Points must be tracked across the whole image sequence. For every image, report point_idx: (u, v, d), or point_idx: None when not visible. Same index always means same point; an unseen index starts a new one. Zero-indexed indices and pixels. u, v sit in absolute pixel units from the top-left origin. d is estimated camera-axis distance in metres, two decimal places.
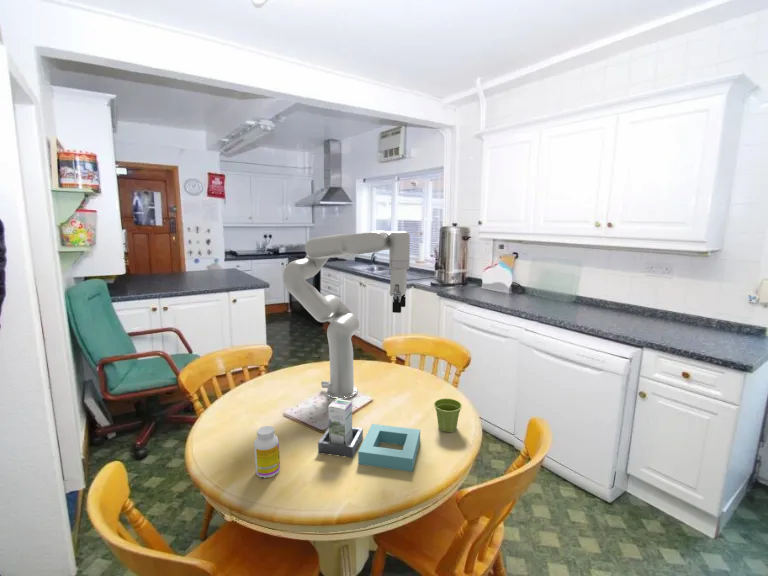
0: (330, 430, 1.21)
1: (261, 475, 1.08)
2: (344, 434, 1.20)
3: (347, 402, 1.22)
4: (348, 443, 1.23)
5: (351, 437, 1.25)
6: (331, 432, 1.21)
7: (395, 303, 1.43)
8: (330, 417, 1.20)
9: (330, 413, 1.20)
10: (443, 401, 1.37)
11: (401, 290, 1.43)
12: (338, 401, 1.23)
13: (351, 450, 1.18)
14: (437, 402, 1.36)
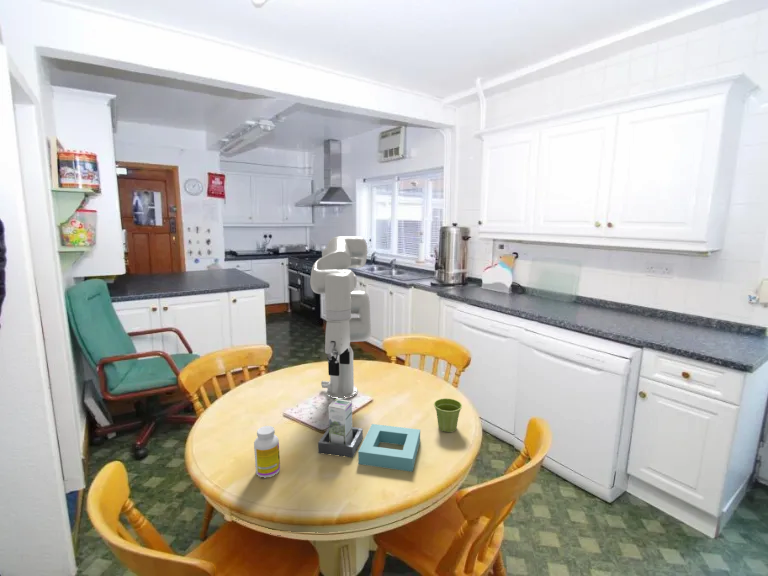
0: (330, 430, 1.21)
1: (261, 475, 1.08)
2: (344, 434, 1.20)
3: (347, 402, 1.22)
4: (348, 443, 1.23)
5: (351, 437, 1.25)
6: (331, 432, 1.21)
7: (331, 364, 1.13)
8: (330, 417, 1.20)
9: (330, 413, 1.20)
10: (443, 401, 1.37)
11: (338, 348, 1.13)
12: (338, 401, 1.23)
13: (351, 450, 1.18)
14: (437, 402, 1.36)
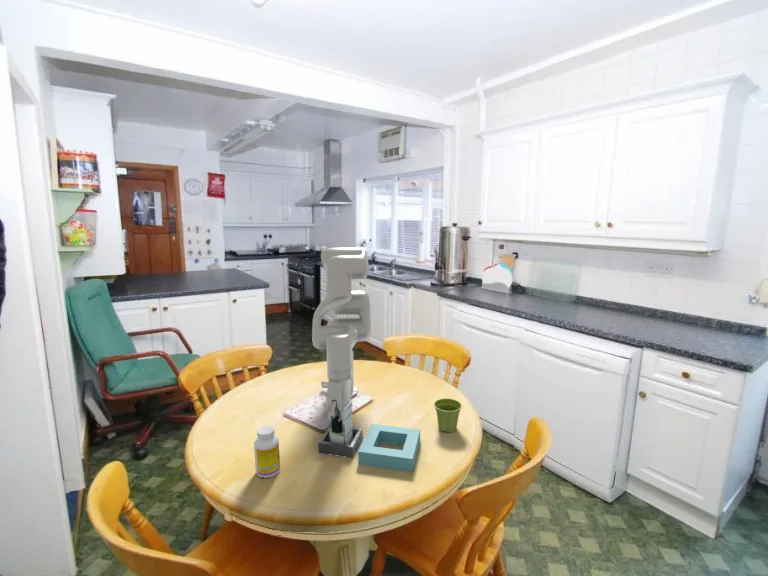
0: (330, 430, 1.21)
1: (261, 475, 1.08)
2: (344, 434, 1.20)
3: None
4: (348, 443, 1.23)
5: (351, 437, 1.25)
6: (331, 432, 1.21)
7: (334, 422, 1.18)
8: None
9: None
10: (443, 401, 1.37)
11: (340, 407, 1.17)
12: None
13: (351, 450, 1.18)
14: (437, 402, 1.36)
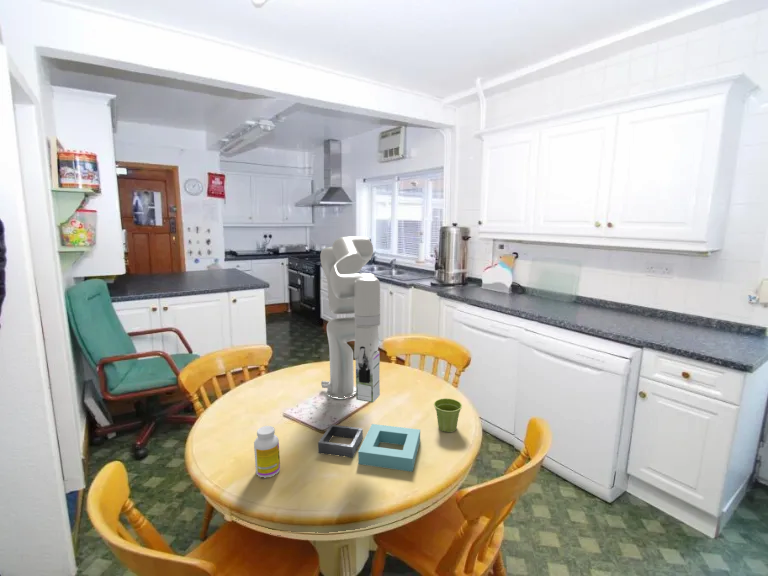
0: (357, 380, 1.16)
1: (261, 475, 1.08)
2: (371, 384, 1.15)
3: (375, 352, 1.17)
4: (375, 395, 1.17)
5: (378, 389, 1.20)
6: (358, 382, 1.16)
7: (362, 371, 1.13)
8: (357, 366, 1.15)
9: (357, 362, 1.15)
10: (443, 401, 1.37)
11: (368, 354, 1.11)
12: None
13: (351, 450, 1.18)
14: (437, 402, 1.36)
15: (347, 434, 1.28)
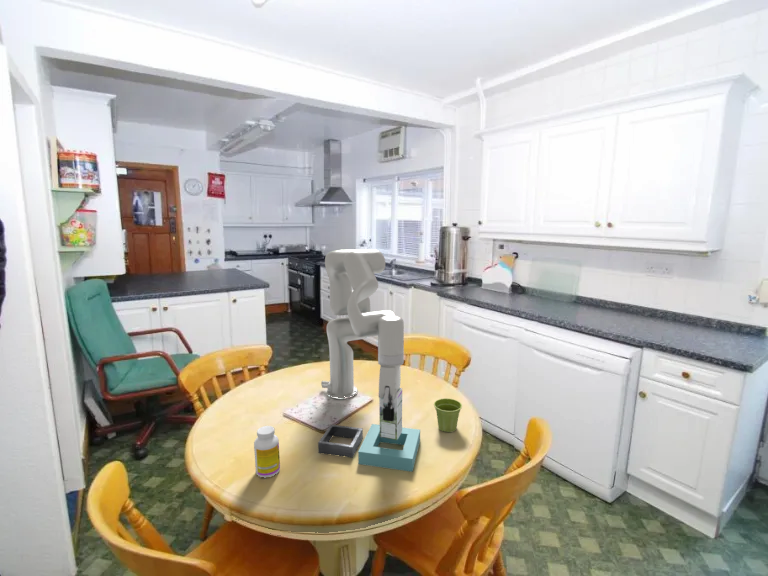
0: (381, 418, 1.17)
1: (261, 475, 1.08)
2: (396, 422, 1.15)
3: (398, 389, 1.17)
4: (399, 432, 1.18)
5: (401, 426, 1.20)
6: (382, 420, 1.17)
7: (386, 410, 1.14)
8: (381, 404, 1.16)
9: (381, 400, 1.16)
10: (443, 401, 1.37)
11: (393, 393, 1.12)
12: None
13: (351, 450, 1.18)
14: (437, 402, 1.36)
15: (347, 434, 1.28)
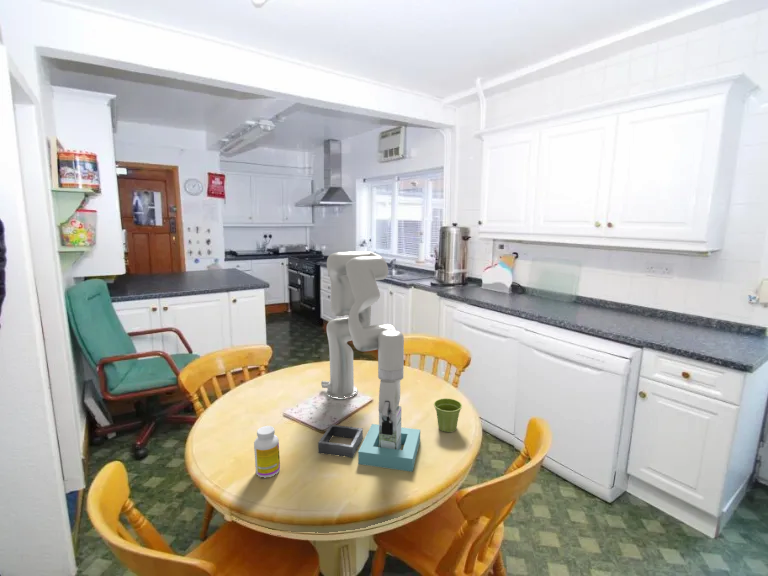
0: (380, 436, 1.18)
1: (261, 475, 1.08)
2: (395, 440, 1.16)
3: (397, 407, 1.19)
4: (398, 449, 1.19)
5: (400, 443, 1.21)
6: (381, 438, 1.18)
7: (385, 424, 1.13)
8: (381, 423, 1.17)
9: (381, 419, 1.17)
10: (443, 401, 1.37)
11: (393, 408, 1.13)
12: None
13: (351, 450, 1.18)
14: (437, 402, 1.36)
15: (347, 434, 1.28)
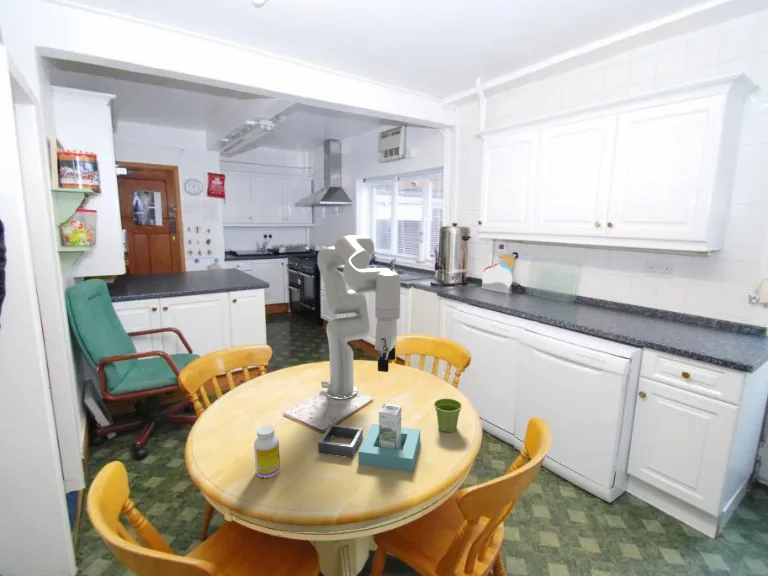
0: (380, 436, 1.18)
1: (261, 475, 1.08)
2: (395, 440, 1.16)
3: (397, 407, 1.19)
4: (398, 449, 1.19)
5: (400, 443, 1.21)
6: (381, 438, 1.18)
7: (381, 361, 1.17)
8: (380, 423, 1.17)
9: (381, 419, 1.17)
10: (443, 401, 1.37)
11: (388, 345, 1.17)
12: (387, 406, 1.19)
13: (351, 450, 1.18)
14: (437, 402, 1.36)
15: (347, 434, 1.28)
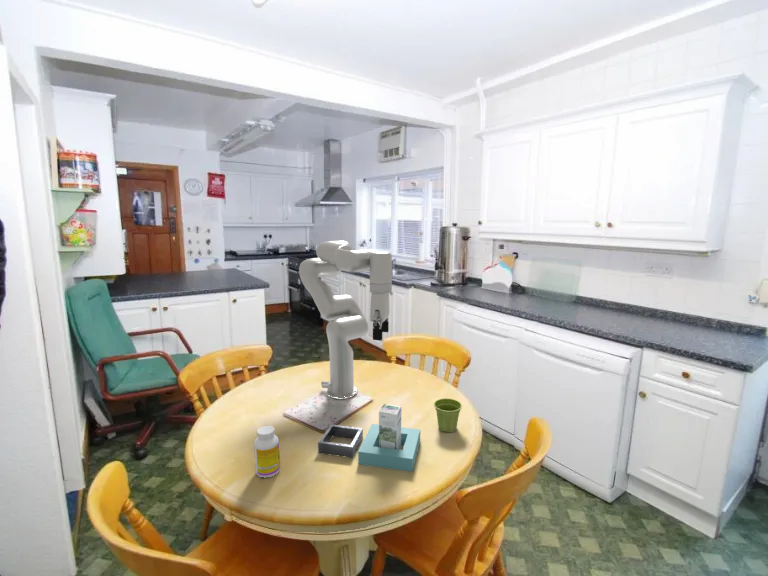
0: (380, 436, 1.18)
1: (261, 475, 1.08)
2: (395, 440, 1.16)
3: (397, 407, 1.19)
4: (398, 449, 1.19)
5: (400, 443, 1.21)
6: (381, 438, 1.18)
7: (375, 330, 1.31)
8: (381, 423, 1.17)
9: (381, 419, 1.17)
10: (443, 401, 1.37)
11: (382, 316, 1.31)
12: (388, 406, 1.19)
13: (351, 450, 1.18)
14: (437, 402, 1.36)
15: (347, 434, 1.28)
